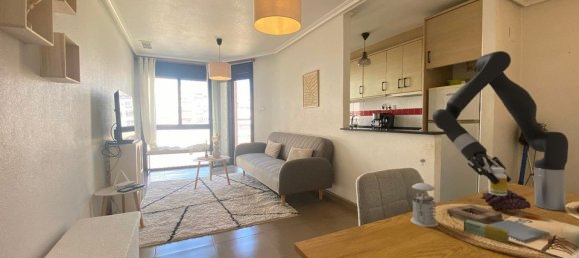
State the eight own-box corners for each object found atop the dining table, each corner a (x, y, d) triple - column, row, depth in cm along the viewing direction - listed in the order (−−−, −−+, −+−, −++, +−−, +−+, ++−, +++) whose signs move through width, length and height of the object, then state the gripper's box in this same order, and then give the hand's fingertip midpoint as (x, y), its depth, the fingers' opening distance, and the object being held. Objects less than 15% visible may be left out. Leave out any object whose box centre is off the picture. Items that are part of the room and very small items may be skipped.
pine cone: (536, 215, 99) (536, 191, 99) (522, 220, 95) (522, 194, 95) (487, 203, 115) (486, 182, 115) (473, 206, 112) (473, 184, 111)
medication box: (463, 231, 88) (463, 220, 88) (466, 229, 89) (466, 218, 89) (507, 244, 78) (506, 232, 78) (509, 241, 80) (509, 229, 80)
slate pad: (508, 221, 94) (508, 219, 94) (549, 234, 83) (549, 232, 83) (483, 228, 90) (482, 225, 90) (523, 242, 78) (523, 240, 78)
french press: (441, 220, 97) (439, 158, 97) (433, 230, 89) (432, 162, 88) (414, 215, 104) (413, 156, 104) (405, 223, 96) (403, 160, 95)
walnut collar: (470, 210, 107) (470, 204, 107) (502, 220, 96) (502, 213, 96) (447, 215, 103) (447, 209, 103) (477, 225, 92) (477, 219, 92)
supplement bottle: (511, 196, 88) (510, 169, 88) (493, 195, 89) (492, 169, 89) (501, 191, 93) (501, 166, 93) (485, 191, 94) (484, 166, 94)
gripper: (462, 142, 95) (497, 178, 84) (488, 139, 100) (525, 174, 89) (450, 154, 101) (481, 190, 90) (475, 151, 105) (508, 185, 94)
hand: (503, 182), depth 89 cm, fingers closed on supplement bottle, 5 cm apart
